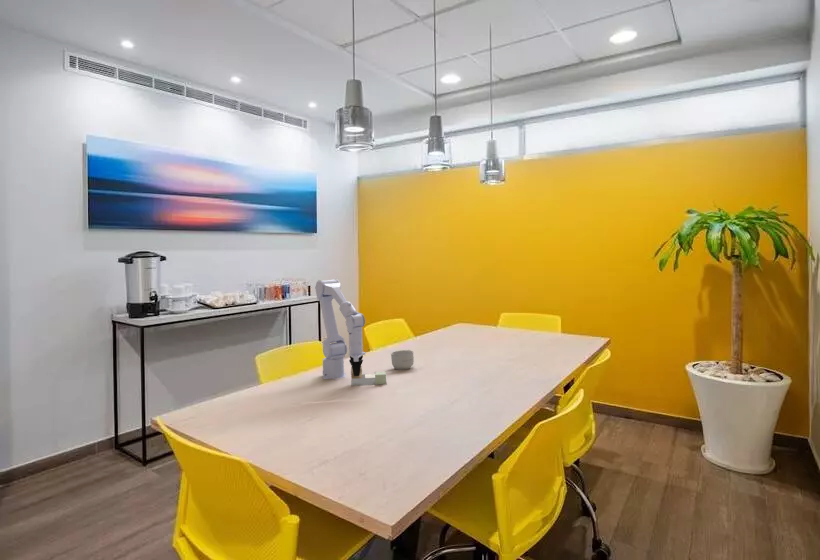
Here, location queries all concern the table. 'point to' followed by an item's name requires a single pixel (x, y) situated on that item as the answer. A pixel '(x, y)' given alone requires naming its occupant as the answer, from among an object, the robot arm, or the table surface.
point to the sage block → (380, 377)
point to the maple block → (356, 376)
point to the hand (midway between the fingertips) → (356, 374)
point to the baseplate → (364, 380)
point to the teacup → (402, 359)
